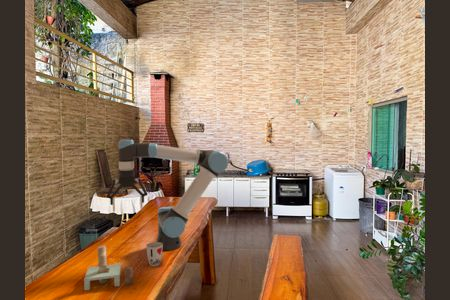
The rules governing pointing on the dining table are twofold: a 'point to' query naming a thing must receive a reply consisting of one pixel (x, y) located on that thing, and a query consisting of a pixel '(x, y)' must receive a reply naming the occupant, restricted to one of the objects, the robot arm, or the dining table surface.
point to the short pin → (128, 276)
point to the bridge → (103, 275)
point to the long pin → (102, 262)
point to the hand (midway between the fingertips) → (127, 210)
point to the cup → (154, 253)
